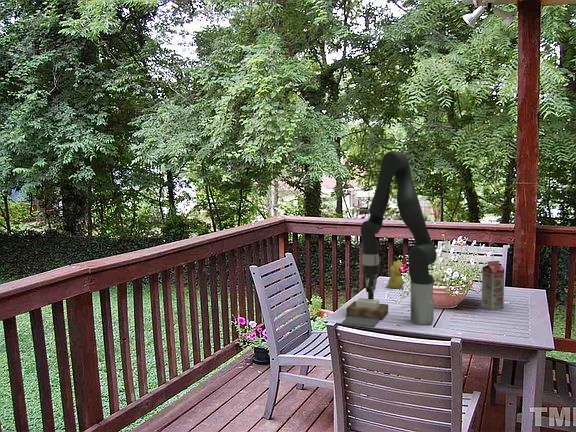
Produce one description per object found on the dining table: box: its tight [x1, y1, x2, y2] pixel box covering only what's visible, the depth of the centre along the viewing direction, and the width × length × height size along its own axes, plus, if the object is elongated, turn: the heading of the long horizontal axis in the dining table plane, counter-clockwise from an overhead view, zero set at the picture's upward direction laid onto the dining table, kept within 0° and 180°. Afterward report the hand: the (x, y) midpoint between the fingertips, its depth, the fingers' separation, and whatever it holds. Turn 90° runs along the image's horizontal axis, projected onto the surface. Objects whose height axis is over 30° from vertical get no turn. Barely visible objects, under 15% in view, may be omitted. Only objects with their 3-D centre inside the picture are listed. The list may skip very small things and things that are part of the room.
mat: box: [341, 316, 380, 328], centre depth 213 cm, size 14×10×1 cm
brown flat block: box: [345, 300, 389, 321], centre depth 223 cm, size 16×12×4 cm
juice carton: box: [481, 260, 505, 311], centre depth 230 cm, size 7×7×22 cm
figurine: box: [386, 259, 405, 289], centre depth 271 cm, size 11×9×15 cm
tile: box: [355, 297, 380, 309], centre depth 222 cm, size 9×6×2 cm, turn 66°
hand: (370, 300), depth 227 cm, fingers closed
